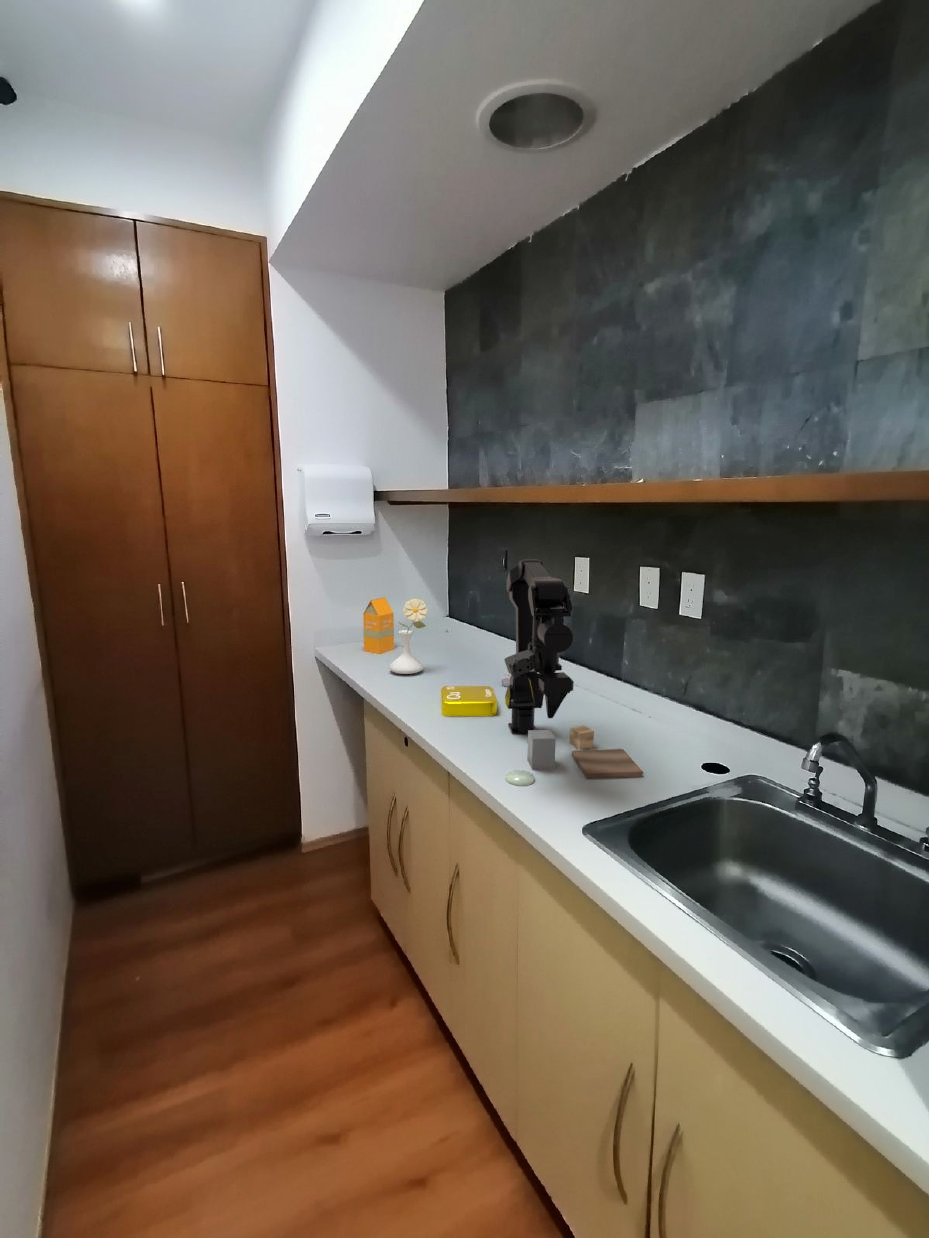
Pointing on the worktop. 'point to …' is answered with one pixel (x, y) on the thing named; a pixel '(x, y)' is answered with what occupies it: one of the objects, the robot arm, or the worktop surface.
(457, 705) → the element tile
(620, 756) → the walnut board
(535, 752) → the slate block
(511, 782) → the pale green rounded piece
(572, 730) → the oak cube
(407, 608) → the flower in vase
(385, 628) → the orange juice
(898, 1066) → the worktop surface
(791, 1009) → the worktop surface
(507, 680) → the stone block
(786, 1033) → the worktop surface
